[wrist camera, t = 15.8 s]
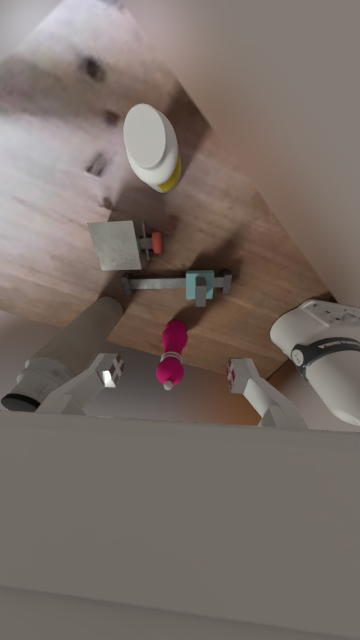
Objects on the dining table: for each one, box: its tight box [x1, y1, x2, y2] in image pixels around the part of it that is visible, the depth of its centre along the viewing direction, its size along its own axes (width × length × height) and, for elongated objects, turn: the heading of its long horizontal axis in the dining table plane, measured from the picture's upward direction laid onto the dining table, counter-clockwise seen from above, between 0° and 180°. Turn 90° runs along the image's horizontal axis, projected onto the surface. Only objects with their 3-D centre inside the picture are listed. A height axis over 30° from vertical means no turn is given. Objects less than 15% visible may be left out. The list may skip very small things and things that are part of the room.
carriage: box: [186, 270, 214, 307], centre depth 34 cm, size 6×6×9 cm
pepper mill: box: [156, 320, 188, 390], centre depth 38 cm, size 7×7×20 cm
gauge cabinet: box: [87, 220, 150, 271], centre depth 31 cm, size 8×8×8 cm
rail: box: [120, 270, 232, 295], centre depth 37 cm, size 25×4×4 cm, turn 93°
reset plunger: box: [140, 232, 163, 254], centre depth 31 cm, size 11×4×4 cm, turn 93°
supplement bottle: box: [124, 104, 182, 193], centre depth 22 cm, size 7×7×13 cm
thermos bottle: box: [1, 297, 123, 412], centre depth 33 cm, size 8×8×28 cm
